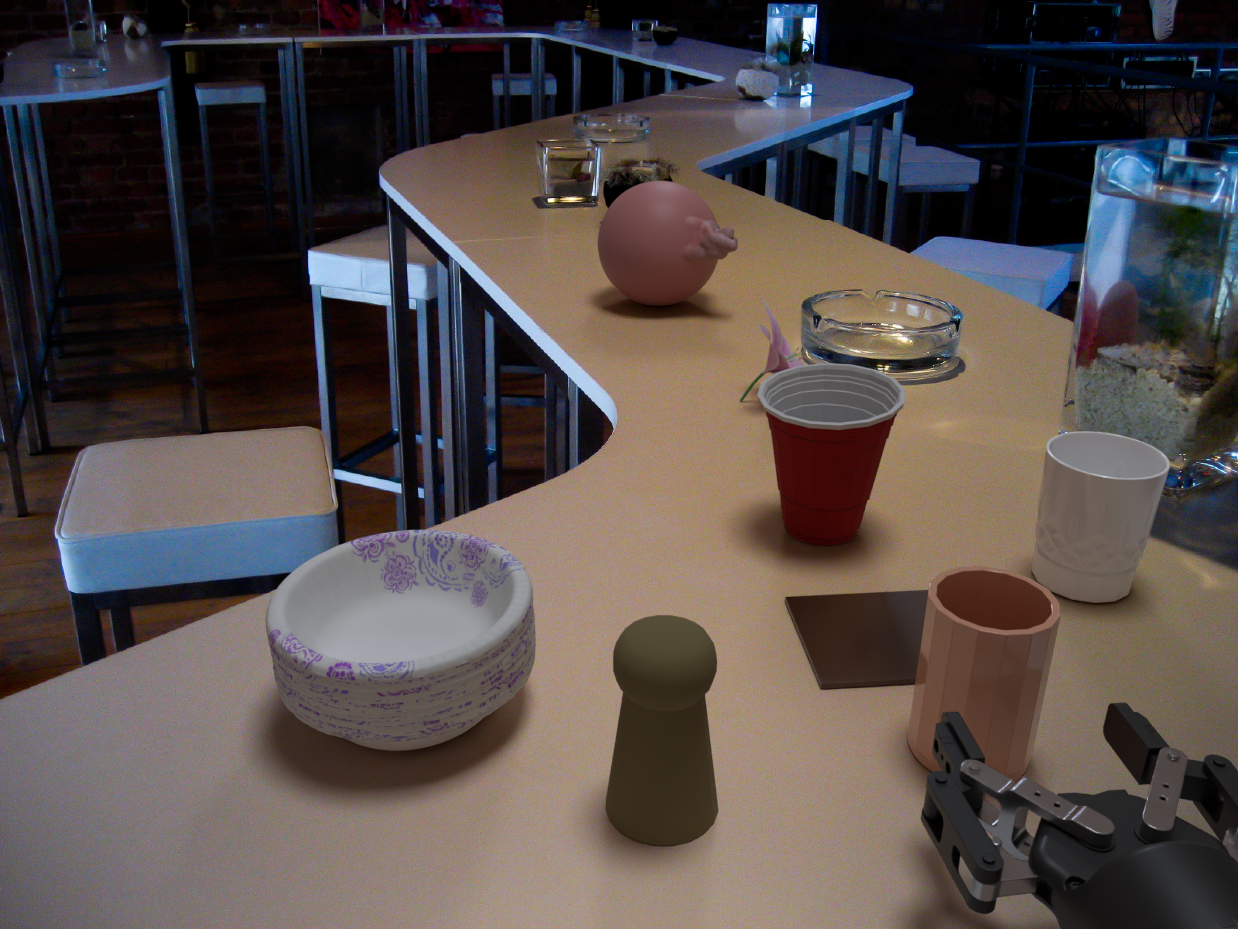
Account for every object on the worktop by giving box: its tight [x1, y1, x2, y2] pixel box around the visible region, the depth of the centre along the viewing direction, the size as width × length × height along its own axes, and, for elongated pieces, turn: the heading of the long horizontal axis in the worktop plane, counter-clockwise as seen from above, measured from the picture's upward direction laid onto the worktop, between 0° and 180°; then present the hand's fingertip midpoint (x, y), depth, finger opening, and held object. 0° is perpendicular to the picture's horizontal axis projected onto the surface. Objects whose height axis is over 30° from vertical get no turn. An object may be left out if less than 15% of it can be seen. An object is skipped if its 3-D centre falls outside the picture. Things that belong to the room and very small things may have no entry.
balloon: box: [597, 180, 739, 307], centre depth 135 cm, size 15×20×15 cm
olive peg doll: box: [605, 614, 719, 846], centre depth 56 cm, size 6×6×11 cm
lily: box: [739, 296, 807, 402], centre depth 108 cm, size 12×12×10 cm
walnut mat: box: [784, 589, 928, 690], centre depth 72 cm, size 14×10×1 cm
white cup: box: [1031, 430, 1171, 604], centre depth 76 cm, size 8×8×10 cm
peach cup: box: [907, 565, 1062, 780], centre depth 60 cm, size 7×7×10 cm
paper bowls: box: [264, 529, 537, 752], centre depth 64 cm, size 15×15×8 cm
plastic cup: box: [756, 362, 907, 547], centre depth 83 cm, size 11×11×12 cm
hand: (1029, 721), depth 54 cm, fingers open, 8 cm apart
